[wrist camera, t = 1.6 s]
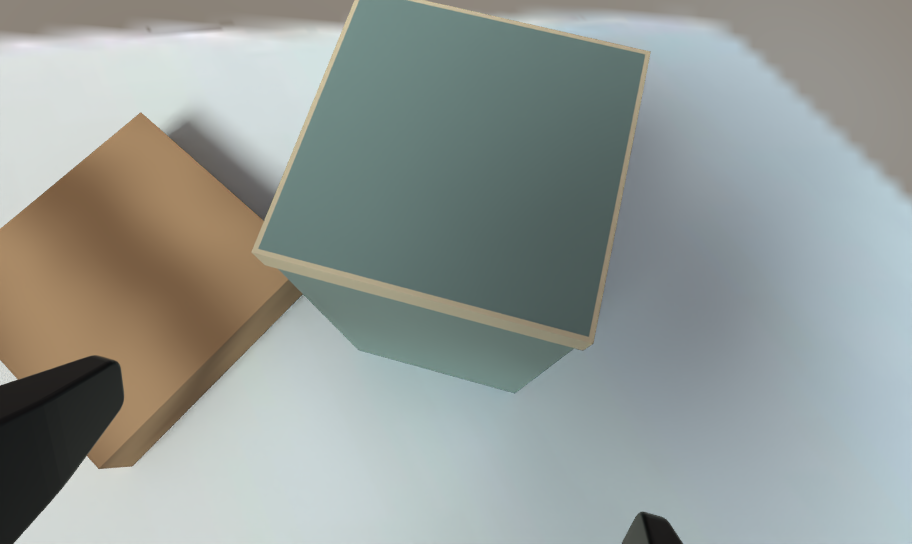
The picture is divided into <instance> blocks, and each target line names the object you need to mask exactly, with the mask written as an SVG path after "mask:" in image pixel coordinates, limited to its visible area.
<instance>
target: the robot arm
mask: <svg viewBox="0 0 912 544" xmlns="http://www.w3.org/2000/svg"><path fill="white" fill-rule="evenodd" d="M123 402H124V387H123V380H122V372H121V366H120V364H119V363H118V362H117V361H115V360H113V359H109V358H106V357H102V356H98V355H92V356H88V357H85V358H82V359H79V360H76V361H73V362H70V363H67V364H64V365H61V366H58V367H55V368H52V369H49V370H46V371H43V372H40V373H37V374H34V375H31V376H28V377H24V378H21V379H18V380H15V381H12V382H9V383H6V384H3V385H0V544H14V542H15V541H16V540H17V539H18V538H19V537H20V536H21V535H22V533H23V532H24V531H25V530H26V529H27V528H28V527H29V526H30V524H31V523H32V522H33V521H34V520H35V519H36V518H37V517H38V515H39V514H40V513H41V512H42V511H43V510H44V509H45V508H46V506H47V505H48V504H49V503H50V502H51V501H52V500H53V498H54V497H55V496H56V495H57V494H58V493H59V491H60V490H61V489H62V488H63V487H64V485H65V484H66V483H67V481H68V480H69V479H70V478H71V476H72V475H73V474H74V472H75V471H76V470H77V468H78V467H79V465H80V464H81V463H82V461H83V460H84V459H85V457H86V456H87V455H88V453H89V452H90V451H91V449H92V448H93V446H94V445H95V444H96V442H97V441H98V440H99V438H100V437H101V436H102V434H103V433H104V431H105V430H106V429H107V427H108V426H109V425H110V423H111V422H112V421H113V419H114V418H115V417H116V415H117V414H118V412H119V411H120V409H121V407H122V405H123ZM622 544H683V543H682V541H681V540H680V538H679V537H678V535H677V534H676V532H675V531H674V529H673V528H672V526H671V524H670V523H669V522H668V521H667V520H666V519H665V518H663V517H660V516H657V515H653V514H650V513H647V512H640V513H638V514H637V516H636V517H635V519H634V521H633V523H632V525H631V527H630V528H629V530H628V532H627V534H626V536H625V538H624V540H623V542H622Z"/></svg>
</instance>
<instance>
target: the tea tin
mask: <svg viewBox="0 0 912 544" xmlns="http://www.w3.org/2000/svg"><path fill="white" fill-rule="evenodd" d="M649 58H650V52H649V51H645V50H641V49H636V48H632V47H627V46H623V45H619V44H614V43H610V42H605V41H601V40H597V39H592V38H588V37H583V36H579V35H575V34H570V33H566V32H561V31H557V30H553V29H548V28H544V27H539V26H535V25H531V24H526V23H522V22H517V21H513V20H509V19H504V18H500V17H495V16H491V15H487V14H482V13H478V12H473V11H469V10H464V9H460V8H456V7H451V6H447V5H442V4H438V3H433V2H429V1H425V0H355V1H354V3H353V5H352V8H351V10H350V13H349V15H348V18H347V20H346V23H345V25H344V27H343V30H342V32H341V35H340V37H339V40H338V42H337V44H336V47H335V49H334V52H333V54H332V57H331V59H330V62H329V64H328V66H327V69H326V71H325V74H324V76H323V79H322V81H321V83H320V86H319V88H318V91H317V93H316V96H315V98H314V101H313V103H312V105H311V108H310V110H309V113H308V115H307V118H306V120H305V122H304V125H303V127H302V130H301V132H300V135H299V137H298V140H297V142H296V144H295V147H294V149H293V152H292V154H291V157H290V159H289V162H288V164H287V166H286V169H285V171H284V174H283V176H282V179H281V181H280V183H279V186H278V188H277V191H276V193H275V196H274V198H273V201H272V203H271V205H270V208H269V210H268V213H267V215H266V218H265V220H264V222H263V225H262V227H261V230H260V232H259V235H258V237H257V240H256V242H255V244H254V247H253V249H252V253H253V254H254V255H255V256H256V257H257V258H258V259H259V260H260V261H261V262H262V263H263V264H264V265H266V266H270V267H273V268H277V269H279V270H280V271H281V272H282V273H283V274H284V275H285V276H286V277H287V279H288V280H289V281H290V282H291V283H292V284H293V285H294V286H295V287H296V288H297V289H298V290H299V291H300V292H301V293H302V294H303V295H304V296H305V297H306V298H307V299H308V300H309V301H310V302H311V303H312V304H313V305H314V306H315V307H316V308H317V309H318V310H319V311H320V312H321V313H322V314H323V315H324V316H325V317H326V318H327V319H328V320H329V321H330V322H331V323H332V324H333V325H334V326H335V327H336V328H337V329H338V330H339V331H340V332H341V333H342V334H343V335H344V336H345V337H346V338H347V339H348V340H349V341H350V342H351V343H352V344H353V345H354V346H355V347H356V348H357V349H358V350H360V351H364V352H367V353H371V354H374V355H378V356H382V357H385V358H389V359H393V360H396V361H400V362H403V363H407V364H411V365H414V366H418V367H422V368H425V369H429V370H432V371H436V372H440V373H443V374H447V375H450V376H454V377H458V378H461V379H465V380H469V381H472V382H476V383H479V384H483V385H487V386H490V387H494V388H498V389H501V390H505V391H508V392H512V393H516V392H517V391H519V390H520V389H521V388H523V387H524V386H525V385H527V384H528V383H529V382H531V381H532V380H533V379H534V378H536V377H537V376H538V375H540V374H541V373H542V372H544V371H545V370H546V369H548V368H549V367H550V366H552V365H553V364H554V363H555V362H557V361H558V360H559V359H561V358H562V357H563V356H565V355H566V354H567V353H569V352H570V351H571V350H573V349H574V348H575V349H579V350H585V349H586V348H588V347H589V346H591V345H592V344H593V342H594V337H595V332H596V327H597V322H598V317H599V312H600V307H601V302H602V297H603V292H604V286H605V281H606V276H607V271H608V266H609V261H610V256H611V251H612V246H613V241H614V236H615V230H616V225H617V220H618V215H619V210H620V205H621V200H622V195H623V190H624V185H625V180H626V175H627V169H628V164H629V159H630V154H631V149H632V144H633V139H634V134H635V129H636V124H637V119H638V113H639V108H640V103H641V98H642V93H643V88H644V83H645V78H646V73H647V68H648V63H649Z"/></svg>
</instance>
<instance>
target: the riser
mask: <svg viewBox="0 0 912 544" xmlns="http://www.w3.org/2000/svg"><path fill="white" fill-rule="evenodd" d="M263 222H264V221H263V220H262V219H261V218H260V217H259V216H258V215H257V214H255V213H254V212H253V211H252V210H251V209H250V208H249V207H247V206H246V205H245V204H244V203H243V202H242V201H241V200H240V199H238V198H237V197H236V196H235V195H234V194H233V193H232V192H230V191H229V190H228V189H227V188H226V187H225V186H224V185H223V184H221V183H220V182H219V181H218V180H217V179H216V178H215V177H214V176H212V175H211V174H210V173H209V172H208V171H207V170H206V169H204V168H203V167H202V166H201V165H200V164H199V163H198V162H197V161H195V160H194V159H193V158H192V157H191V156H190V155H189V154H187V153H186V152H185V151H184V150H183V149H182V148H181V147H180V146H178V145H177V144H176V143H175V142H174V141H173V140H172V139H170V138H169V137H168V136H167V135H166V134H165V133H164V132H163V131H161V130H160V129H159V128H158V127H157V126H156V125H155V124H154V123H152V122H151V121H150V120H149V119H148V118H147V117H146V116H144V115H143V114H142V113H139V114H138V115H137V116H136V117H135V118H133V119H132V120H131V121H130V122H129V123H127V124H126V125H125V126H124V127H123V128H121V129H120V130H119V131H118V132H117V133H115V134H114V135H113V136H112V137H110V138H109V139H108V140H107V141H106V142H104V143H103V144H102V145H101V146H100V147H98V148H97V149H96V150H95V151H94V152H92V153H91V154H90V155H89V156H88V157H86V158H85V159H84V160H83V161H82V162H80V163H79V164H78V165H77V166H76V167H74V168H73V169H72V170H71V171H70V172H68V173H67V174H66V175H65V176H63V177H62V178H61V179H60V180H59V181H57V182H56V183H55V184H54V185H53V186H51V187H50V188H49V189H48V190H47V191H45V192H44V193H43V194H42V195H41V196H39V197H38V198H37V199H36V200H35V201H33V202H32V203H31V204H30V205H29V206H27V207H26V208H25V209H24V210H23V211H21V212H20V213H19V214H18V215H17V216H15V217H14V218H13V219H12V220H10V221H9V222H8V223H7V224H6V225H4V226H3V227H2V228H1V229H0V360H1V361H2V362H3V363H4V364H5V366H6V367H7V368H8V369H9V370H10V371H11V372H12V373H13V374H14V376H15V377H16V378H17V379H21V378H24V377H28V376H31V375H34V374H37V373H40V372H43V371H46V370H49V369H52V368H55V367H58V366H61V365H64V364H67V363H70V362H73V361H76V360H79V359H82V358H85V357H88V356H92V355H98V356H102V357H106V358H109V359H113V360H115V361H117V362H118V363H119V364H120V366H121V372H122V380H123V387H124V402H123V405H122V407H121V409H120V411H119V412H118V414H117V415H116V417H115V418H114V419H113V421H112V422H111V423H110V425H109V426H108V427H107V429H106V430H105V431H104V433H103V434H102V436H101V437H100V438H99V440H98V441H97V442H96V444H95V445H94V446H93V448H92V449H91V451H90V452H89V453H88V455H87V456H88V458H89V459H90V460H91V461H92V462H93V463H94V464H95V465H96V466H97V468H98V469H104V468H117V467H130V466H133V465H134V464H135V463H136V462H137V461H138V460H139V459H140V458H141V457H142V456H143V455H144V454H145V453H146V452H147V451H148V450H149V449H150V448H151V447H152V446H153V445H154V444H155V443H156V442H157V441H158V440H159V439H160V438H161V437H162V436H163V435H164V434H165V433H166V432H167V431H168V430H169V429H170V428H171V427H172V426H173V425H174V424H175V423H176V422H177V421H178V420H179V419H180V418H181V417H182V416H183V415H184V414H185V413H186V412H187V410H188V409H189V408H190V407H191V406H192V405H193V404H194V403H195V402H196V401H197V400H198V399H199V398H200V397H201V396H202V395H203V394H204V393H205V392H206V391H207V390H208V389H209V388H210V387H211V386H212V385H213V384H214V383H215V382H216V381H217V380H218V379H219V378H220V377H221V376H222V375H223V374H224V373H225V372H226V371H227V370H228V369H229V368H230V367H231V366H232V365H233V364H234V363H235V362H236V361H237V360H238V359H239V358H240V357H241V356H242V355H243V354H244V353H245V352H246V351H247V350H248V349H249V348H250V347H251V346H252V345H253V344H254V343H255V342H256V341H257V340H258V339H259V338H260V337H261V336H262V335H263V334H264V333H265V332H266V331H267V330H268V329H269V328H270V327H271V326H272V325H273V324H274V323H275V322H276V321H277V320H278V319H279V317H280V316H281V315H282V314H283V313H284V312H285V311H286V310H287V309H288V308H289V307H290V306H291V305H292V304H293V303H294V302H295V301H296V300H297V299H298V298H299V297H300V296H301V295H302V293H301V292H300V291H299V290H298V289H297V288H296V287H295V286H294V285H293V284H292V283H291V282H290V281H289V280H288V279H287V277H286V276H285V275H284V274H283V273H282V272H281V271H280V270H279V269H277V268H273V267H270V266H266V265H264V264H263V263H262V262H261V261H260V260H259V259H258V258H257V257H256V256H255V255H254V254H253V253H252V249H253V247H254V244H255V242H256V240H257V237H258V235H259V232H260V230H261V227H262V225H263Z"/></svg>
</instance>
